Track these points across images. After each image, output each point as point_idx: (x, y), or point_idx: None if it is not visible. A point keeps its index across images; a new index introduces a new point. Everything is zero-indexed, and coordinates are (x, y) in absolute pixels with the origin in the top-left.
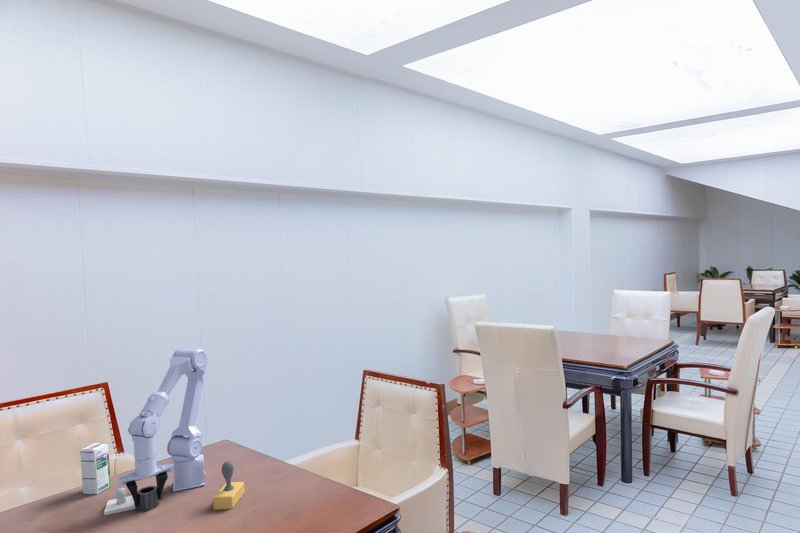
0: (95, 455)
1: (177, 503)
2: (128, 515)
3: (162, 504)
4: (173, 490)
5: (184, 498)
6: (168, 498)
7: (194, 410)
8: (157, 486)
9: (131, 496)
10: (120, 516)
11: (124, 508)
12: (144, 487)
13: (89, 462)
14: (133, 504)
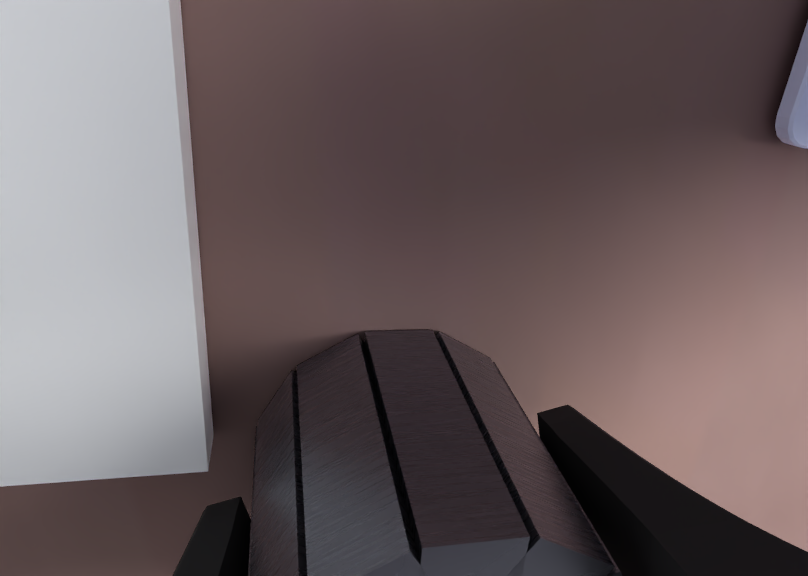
0: None
1: (697, 490)
2: (156, 569)
3: None
4: (793, 140)
5: (796, 404)
6: (653, 314)
7: None
8: (650, 574)
9: (28, 16)
10: (44, 562)
11: (42, 471)
12: (395, 566)
13: None
14: (175, 431)
